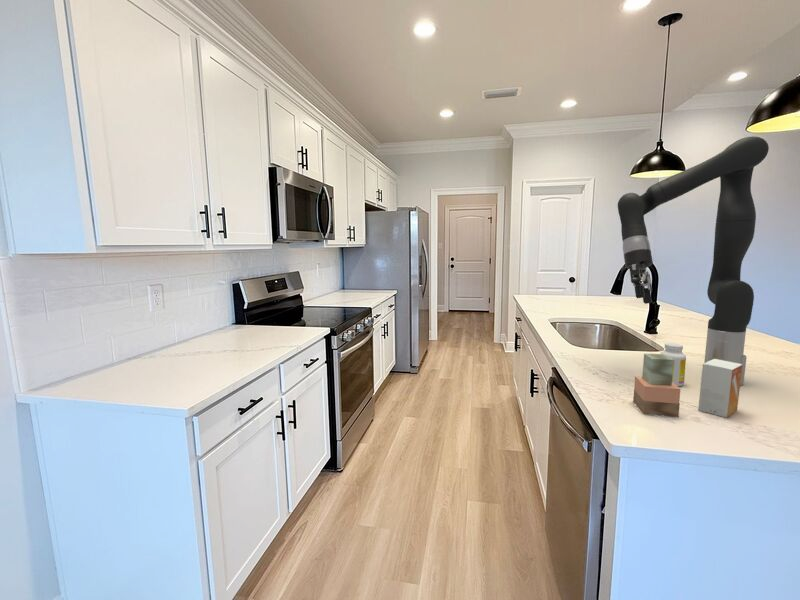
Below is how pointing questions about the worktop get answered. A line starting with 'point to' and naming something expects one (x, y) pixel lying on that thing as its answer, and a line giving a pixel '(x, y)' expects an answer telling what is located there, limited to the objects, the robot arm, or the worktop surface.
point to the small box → (720, 387)
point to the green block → (658, 369)
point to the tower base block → (656, 407)
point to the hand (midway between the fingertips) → (644, 300)
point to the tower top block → (657, 391)
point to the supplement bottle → (676, 362)
